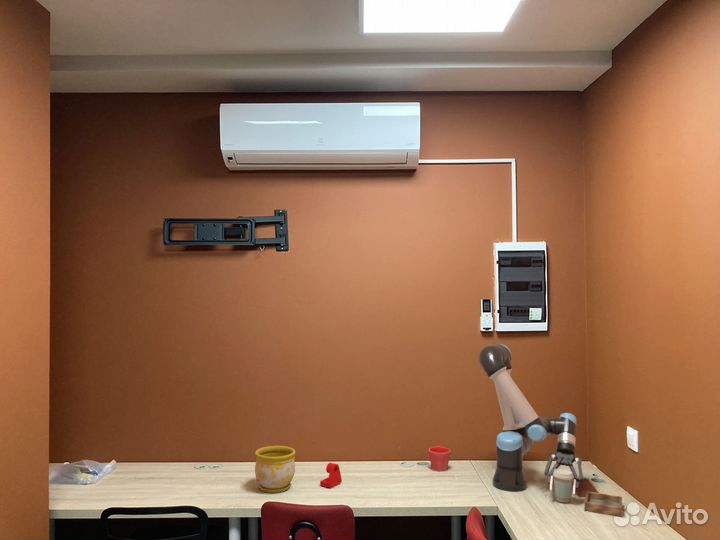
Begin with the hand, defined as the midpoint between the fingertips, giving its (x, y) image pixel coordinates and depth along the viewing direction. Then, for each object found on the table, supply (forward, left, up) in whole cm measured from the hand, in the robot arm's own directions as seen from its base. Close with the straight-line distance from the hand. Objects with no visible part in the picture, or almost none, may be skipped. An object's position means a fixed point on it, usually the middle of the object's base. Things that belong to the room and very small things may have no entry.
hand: (562, 493), depth 233 cm
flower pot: (-60, +20, -5) cm, 64 cm away
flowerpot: (-119, -39, -5) cm, 125 cm away
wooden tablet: (+7, +25, -5) cm, 27 cm away
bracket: (-98, -24, -5) cm, 101 cm away
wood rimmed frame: (+16, +3, -5) cm, 17 cm away
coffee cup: (0, +3, -4) cm, 5 cm away
